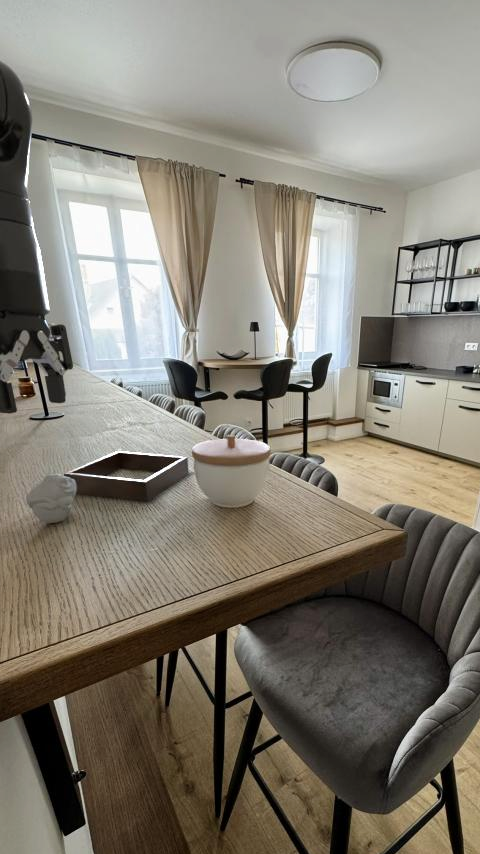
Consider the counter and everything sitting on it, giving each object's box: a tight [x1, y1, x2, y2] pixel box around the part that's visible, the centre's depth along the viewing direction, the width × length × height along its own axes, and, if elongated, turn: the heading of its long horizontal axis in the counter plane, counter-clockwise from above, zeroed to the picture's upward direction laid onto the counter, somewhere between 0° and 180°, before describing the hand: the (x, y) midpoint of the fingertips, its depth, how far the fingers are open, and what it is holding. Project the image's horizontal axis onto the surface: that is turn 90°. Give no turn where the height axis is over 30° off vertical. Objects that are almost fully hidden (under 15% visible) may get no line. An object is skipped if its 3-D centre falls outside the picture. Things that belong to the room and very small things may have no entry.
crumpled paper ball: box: [25, 473, 77, 524], centre depth 59 cm, size 6×7×7 cm
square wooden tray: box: [63, 450, 190, 503], centre depth 76 cm, size 16×16×4 cm
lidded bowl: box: [191, 434, 271, 509], centre depth 68 cm, size 13×13×11 cm
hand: (34, 407), depth 55 cm, fingers open, 8 cm apart
